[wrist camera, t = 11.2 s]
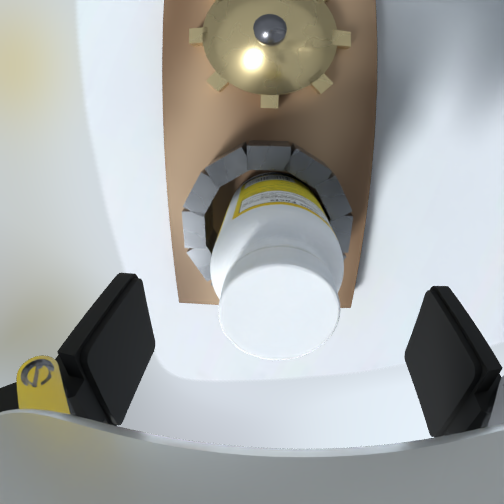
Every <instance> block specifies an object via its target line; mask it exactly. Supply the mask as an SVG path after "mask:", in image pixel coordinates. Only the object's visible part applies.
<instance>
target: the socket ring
mask: <svg viewBox="0 0 504 504" xmlns="http://www.w3.org/2000/svg"><path fill="white" fill-rule="evenodd" d="M249 170H278V171H288V172H289V173H291V174H293V175H294V176H296V177H297V178H299V179H301V180H302V181H304V182H305V183H307V184H309V185H310V186H312V187H313V188H315V189H316V190H317V192H318V194H319V196H320V198H321V200H322V202H323V211H324V213H325V215H326V217H327V219H328V221H329V223H330V225H331V227H332V229H333V231H334V233H335V235H336V237H337V239H338V242H339V245H340V248H341V251H342V255H343V260H345V258H346V255H345V253H348V252H349V245H350V238H351V230H352V222H353V215H352V214H351V212H352V209H351V207H350V205H349V202H348V200H347V198H346V196H345V194H344V192H343V189H342V187H341V185H340V183H339V181H338V179H337V177H336V175H335V174H334V173H333V172H332V171H331V169H330V168H329V167H328V166H327V165H326V164H325V163H324V162H323V161H321V160H320V159H318V158H316V157H315V156H313V155H312V154H310V153H309V152H307V151H305V150H304V149H302V148H301V147H299V146H297V145H296V144H294V143H292V145H291V146H290V144H289V142H288V141H262V140H250V141H249V143H248V145H247V144H246V142H244V143H242V144H240V145H238V146H236V147H235V148H233V149H231V150H229V151H228V152H226V153H224V154H222V155H221V156H219V157H217V158H215V159H214V160H212V161H211V162H210V163H209V164H208V165H207V166H206V167H205V169H204V170H202V171H201V173H200V175H199V177H198V178H197V180H196V182H195V184H194V186H193V188H192V190H191V192H190V193H189V195H188V197H187V199H186V201H185V203H184V205H183V207H184V209H183V211H182V222H183V234H184V246H185V248H188V250H187V252H186V253H187V254H188V255H189V257H190V258H191V260H192V261H193V263H194V264H195V265H196V267H197V268H198V270H199V271H200V273H201V274H202V275H203V277H204V278H205V280H206V281H209V280H211V274H210V263H211V256H212V252H213V249H214V245H215V242H216V240H217V237H218V234H217V233H216V231H215V230H214V228H213V203H212V201H213V199H214V197H215V195H216V194H217V192H218V190H219V188H220V187H221V186H222V185H224V184H226V183H228V182H229V181H231V180H233V179H235V178H237V177H238V176H240V175H242V174H244V173H246V172H248V171H249ZM211 285H212V286H213V284H212V282H211Z"/></svg>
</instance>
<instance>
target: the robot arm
mask: <svg viewBox="0 0 504 504" xmlns="http://www.w3.org/2000/svg"><path fill="white" fill-rule="evenodd" d="M154 349H155V339H154V334H153V330H152V325H151V321H150V316H149V312H148V307H147V302H146V297H145V292H144V287H143V282H142V280H141V279H138V277H137V275H136V274H130V273H119V274H118V275H117V276H116V277H115V278H114V279H113V280H112V282H111V283H110V284H109V285H108V287H107V288H106V289H105V290H104V291H103V293H102V294H101V295H100V297H99V298H98V299H97V300H96V302H95V303H94V304H93V305H92V307H91V308H90V309H89V310H88V312H87V313H86V314H85V315H84V317H83V318H82V319H81V321H80V322H79V323H78V325H77V326H76V327H75V328H74V330H73V331H72V332H71V334H70V335H69V336H68V338H67V339H66V341H65V342H64V343H63V345H62V346H61V347H60V349H59V350H58V354H59V355H58V356H57V358H56V359H54V358H52V357H49V356H44V355H41V356H35V357H33V358H31V359H29V360H27V361H26V362H25V363H23V365H22V366H21V367H20V368H19V370H18V373H17V378H16V381H17V382H16V383H13V384H10V385H7V386H5V387H2V388H0V504H504V376H503V377H501V376H500V374H499V373H500V371H501V370H502V366H501V365H500V363H499V361H498V360H497V358H496V356H495V355H494V353H493V351H492V350H491V348H490V347H489V345H488V343H487V342H486V340H485V339H484V337H483V336H482V334H481V332H480V331H479V329H478V328H477V326H476V325H475V323H474V322H473V320H472V319H471V317H470V316H469V314H468V313H467V312H466V310H465V309H464V307H463V306H462V304H461V303H460V302H459V300H458V299H457V297H456V296H455V295H454V293H453V292H452V291H451V289H450V288H449V287H448V286H433V287H431V289H430V290H428V291H427V292H426V293H425V296H424V299H423V303H422V306H421V309H420V312H419V315H418V318H417V321H416V323H415V326H414V329H413V332H412V335H411V337H410V340H409V343H408V345H407V348H406V351H405V362H406V364H407V367H408V370H409V372H410V375H411V378H412V381H413V384H414V386H415V390H416V392H417V395H418V398H419V401H420V404H421V408H422V411H423V414H424V417H425V420H426V423H427V427H428V430H429V433H430V435H431V436H432V437H434V438H429V439H424V440H417V441H411V442H403V443H395V444H387V445H377V446H366V447H353V448H352V447H351V448H332V449H277V448H257V447H243V446H232V445H221V444H211V443H204V442H197V441H190V440H184V439H177V438H171V437H165V436H160V435H155V434H150V433H145V432H141V431H136V430H130V429H127V428H122V427H117V425H121V424H122V422H123V420H124V417H125V415H126V413H127V410H128V408H129V406H130V403H131V401H132V399H133V397H134V394H135V392H136V390H137V387H138V385H139V383H140V381H141V378H142V376H143V374H144V371H145V369H146V367H147V365H148V363H149V360H150V358H151V356H152V354H153V352H154Z"/></svg>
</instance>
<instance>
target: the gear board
mask: <svg viewBox="0 0 504 504" xmlns="http://www.w3.org/2000/svg"><path fill="white" fill-rule="evenodd" d="M214 2H215V1H214V0H164V14H163V53H162V85H163V126H164V149H165V167H166V182H167V195H168V207H169V219H170V229H171V239H172V248H173V257H174V266H175V274H176V282H177V290H178V297H179V303H195V304H213V305H219V301H220V299H219V298H218V296H217V294H216V292H215V290H214V287H213V286H212V285H211V282H212V280H209V281H206V280H205V278H204V277H203V275H202V274H201V273H200V271H199V270H198V268H197V267H196V265H195V264H194V263H193V261H192V260H191V258H190V257H189V255H188V254H187V253H186V252H187V250H188V248H185V246H184V234H183V222H182V211H183V209H184V207H183V205H184V203H185V201H186V199H187V197H188V195H189V193H190V192H191V190H192V188H193V186H194V184H195V182H196V180H197V178H198V177H199V175H200V173H201V171H202V170H204V169H205V167H206V166H207V165H208V164H209V163H210V162H211V161H212V160H214V159H215V158H217V157H219V156H221V155H222V154H224V153H226V152H228V151H229V150H231V149H233V148H235V147H236V146H238V145H240V144H242V143H244V142H246V144H247V145H248V143H249V141H250V140H262V141H288V142H289V144H290V146H291V145H292V143H294V144H296V145H297V146H299V147H301V148H302V149H304V150H305V151H307V152H309V153H310V154H312V155H313V156H315V157H316V158H318V159H320V160H321V161H323V162H324V163H325V164H326V165H327V166H328V167H329V168H330V169H331V171H332V172H333V173H334V174H335V175H336V177H337V179H338V181H339V183H340V185H341V187H342V189H343V192H344V194H345V196H346V198H347V200H348V202H349V205H350V207H351V209H352V212H351V214H352V215H353V222H352V230H351V238H350V245H349V252H348V253H345V255H346V258H345V260H344V273H343V280H342V284H341V286H340V289H339V291H338V297H339V301H340V308H351V304H352V299H353V294H354V289H355V283H356V278H357V272H358V267H359V261H360V255H361V249H362V242H363V236H364V229H365V222H366V215H367V207H368V199H369V190H370V181H371V171H372V161H373V149H374V136H375V120H376V98H377V20H376V0H329V1H328V2H326V3H325V4H326V5H327V7H328V8H329V10H330V12H331V13H332V15H333V18H334V20H335V23H336V27H337V30H342V31H349V32H351V47H350V48H348V49H347V50H345V49H336V53H335V56H334V58H333V61H332V62H331V64H330V66H329V67H328V69H327V70H326V71H325V73H324V74H325V75H326V76H327V77H328V78H329V79H330V80H331V81H332V82H333V83H334V84H332V85H331V86H330V87H329V88H328V89H326V90H325V91H324V92H323V93H322V94H319V95H318V94H317V92H316V91H315V90H314V89H313V88H312V87H311V86H310V85H308V86H307V87H305V88H303V89H301V90H298V91H296V92H293V93H289V94H285V95H279V96H278V108H261V95H258V94H253V93H250V92H246V91H244V90H242V89H239V88H237V87H235V86H234V85H232V84H229V85H228V86H227V87H226V88H225V89H224V90H223V91H222V92H218V91H217V90H216V89H215V88H213V87H212V86H211V85H210V84H209V83H208V82H207V81H206V80H207V79H208V78H209V77H210V76H211V75H212V74H213V73H214V72H215V69H214V68H213V67H212V65H211V64H210V62H209V60H208V58H207V56H206V53H205V51H204V47H203V46H195V47H193V46H192V45H190V44H189V29H191V28H202V27H203V25H204V21H205V18H206V15H207V13H208V11H209V10H210V8H211V6H212V5H213V4H214ZM269 172H281V173H286V174H289V175H292V176H294V175H293V174H291V173H289V172H288V171H278V170H249V171H248V172H246V173H244V174H242V175H240V176H238V177H237V178H235V179H233V180H231V181H229V182H228V183H226V184H224V185H222V186H221V187H220V188H219V190H218V192H217V194H216V195H215V197H214V199H213V201H212V203H213V228H214V230H215V231H216V233H217V234H219V231H220V229H221V226H222V223H223V220H224V217H225V214H226V211H227V209H228V206H229V203H230V201H231V199H232V197H233V195H234V194H235V192H236V191H237V189H238V188H239V187H240V186H241V185H242V184H243V183H244V182H246V181H247V180H249V179H250V178H252V177H254V176H256V175H259V174H263V173H269ZM294 177H296V176H294ZM296 178H297V177H296ZM298 179H299V178H298ZM300 180H301V179H300ZM301 181H302V180H301ZM302 182H304V181H302ZM304 183H305V182H304ZM305 184H306V185H307V186H308V187H309V188H310V189H311V190H312V191H313V193H314V194H315V196H316V198H317V199H318V201H319V203H320V205H321V207H322V209H323V202H322V200H321V198H320V196H319V194H318V192H317V190H316V189H315V188H313V187H312V186H310V185H309V184H307V183H305Z"/></svg>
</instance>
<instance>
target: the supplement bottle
mask: <svg viewBox="0 0 504 504" xmlns="http://www.w3.org/2000/svg"><path fill="white" fill-rule="evenodd" d="M343 273H344V260H343V255H342V251H341V248H340V245H339V242H338V239H337V237H336V235H335V233H334V231H333V229H332V227H331V225H330V223H329V221H328V219H327V217H326V215H325V213H324V211H323V209H322V207H321V205H320V203H319V201H318V199H317V198H316V196H315V194H314V193H313V191H312V190H311V189H310V188H309V187H308V186H307V185H306V184H305V183H304V182H302V181H301V180H300V179H298V178H296V177H294V176H292V175H289V174H286V173H281V172H269V173H263V174H259V175H256V176H254V177H252V178H250V179H249V180H247V181H246V182H244V183H243V184H242V185H241V186H240V187H239V188H238V189H237V191H236V192H235V194H234V195H233V197H232V199H231V201H230V203H229V206H228V209H227V211H226V214H225V217H224V220H223V223H222V226H221V229H220V231H219V234H218V237H217V240H216V242H215V245H214V249H213V252H212V256H211V263H210V274H211V280H212V284H213V287H214V290H215V292H216V294H217V296H218V298H219V299H220V301H219V307H218V315H219V321H220V325H221V327H222V330H223V332H224V333H225V335H226V336H227V338H228V339H229V340H230V341H231V342H232V343H233V344H234V345H235V346H236V347H237V348H239V349H240V350H242V351H244V352H245V353H247V354H250V355H252V356H255V357H258V358H262V359H268V360H287V359H293V358H297V357H301V356H303V355H306V354H308V353H310V352H312V351H314V350H316V349H317V348H319V347H320V346H321V345H323V344H324V343H325V342H326V341H327V340H328V339H329V337H330V336H331V335H332V334H333V332H334V330H335V329H336V326H337V324H338V321H339V317H340V301H339V297H338V291H339V289H340V286H341V284H342V280H343Z"/></svg>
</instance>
